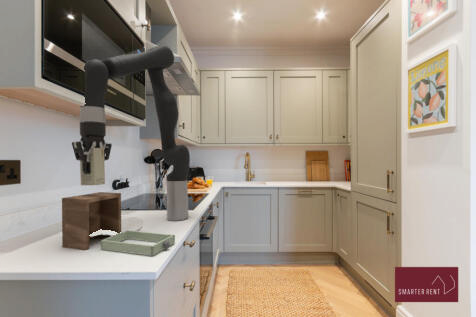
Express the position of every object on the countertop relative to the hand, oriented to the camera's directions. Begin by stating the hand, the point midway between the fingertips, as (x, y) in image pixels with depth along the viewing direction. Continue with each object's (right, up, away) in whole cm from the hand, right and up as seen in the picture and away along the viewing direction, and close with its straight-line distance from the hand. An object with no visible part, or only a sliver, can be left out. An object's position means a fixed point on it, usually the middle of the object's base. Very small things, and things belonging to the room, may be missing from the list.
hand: (93, 173), depth 86 cm
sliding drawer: (+18, -22, -6) cm, 29 cm away
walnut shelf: (0, -23, 0) cm, 23 cm away
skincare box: (0, -4, 0) cm, 4 cm away
